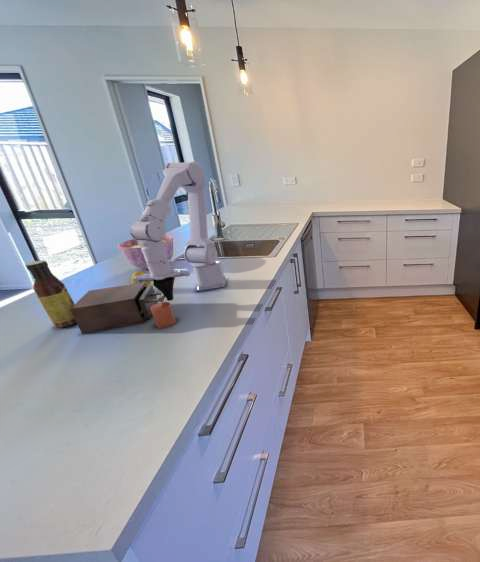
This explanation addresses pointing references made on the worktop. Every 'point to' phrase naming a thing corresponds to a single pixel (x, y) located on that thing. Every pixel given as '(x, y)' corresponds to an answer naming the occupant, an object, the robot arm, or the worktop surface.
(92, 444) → the worktop surface
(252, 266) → the worktop surface
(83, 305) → the cabinet
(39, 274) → the sauce bottle
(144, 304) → the drawer
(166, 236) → the bowl of food
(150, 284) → the lemon
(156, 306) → the orange block
